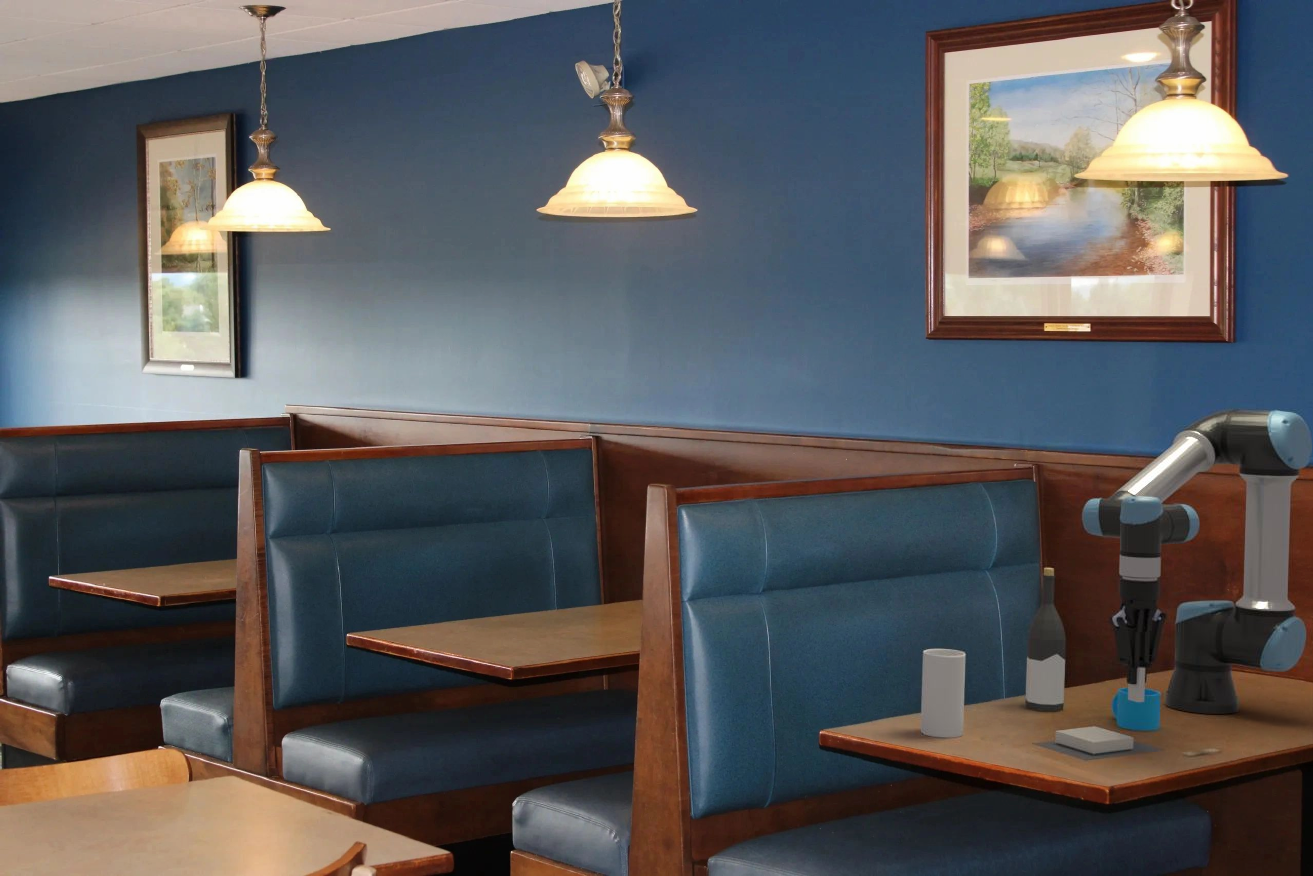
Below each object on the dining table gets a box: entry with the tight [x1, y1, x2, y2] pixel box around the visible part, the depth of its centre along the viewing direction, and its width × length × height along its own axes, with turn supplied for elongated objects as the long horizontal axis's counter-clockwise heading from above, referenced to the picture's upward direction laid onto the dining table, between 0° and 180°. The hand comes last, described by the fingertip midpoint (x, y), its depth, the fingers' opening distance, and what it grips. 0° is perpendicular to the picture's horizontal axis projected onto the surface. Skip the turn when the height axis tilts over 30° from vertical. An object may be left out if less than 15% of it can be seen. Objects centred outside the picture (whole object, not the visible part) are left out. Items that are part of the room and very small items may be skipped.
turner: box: [1182, 748, 1222, 758], centre depth 289 cm, size 16×6×2 cm, turn 118°
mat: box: [1032, 740, 1165, 761], centre depth 295 cm, size 20×14×1 cm
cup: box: [920, 648, 966, 739], centre depth 308 cm, size 8×8×16 cm
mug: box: [1111, 687, 1162, 731], centre depth 315 cm, size 12×8×8 cm
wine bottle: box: [1025, 567, 1067, 713], centre depth 334 cm, size 8×8×30 cm
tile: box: [1054, 725, 1134, 755], centre depth 294 cm, size 2×10×10 cm
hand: (1136, 700), depth 299 cm, fingers closed
